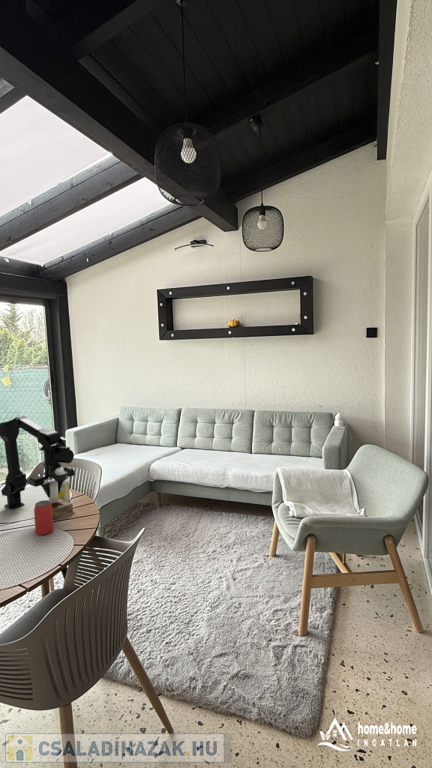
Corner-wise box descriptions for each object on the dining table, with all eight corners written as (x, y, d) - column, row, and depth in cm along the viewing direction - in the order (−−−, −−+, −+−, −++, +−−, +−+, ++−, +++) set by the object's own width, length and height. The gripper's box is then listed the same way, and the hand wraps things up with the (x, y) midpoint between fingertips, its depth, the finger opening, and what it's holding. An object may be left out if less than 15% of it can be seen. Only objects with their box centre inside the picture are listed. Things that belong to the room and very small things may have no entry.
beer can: (47, 536, 160) (45, 506, 159) (32, 535, 162) (30, 505, 160) (56, 529, 167) (55, 500, 165) (42, 527, 168) (40, 499, 167)
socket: (34, 515, 180) (33, 506, 180) (59, 506, 190) (59, 497, 189) (49, 522, 173) (48, 512, 173) (74, 512, 182) (74, 503, 182)
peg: (52, 503, 178) (50, 483, 177) (47, 501, 181) (45, 481, 180) (60, 500, 181) (59, 480, 180) (55, 498, 184) (54, 479, 183)
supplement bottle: (64, 496, 202) (63, 471, 200) (72, 499, 198) (71, 473, 196) (52, 501, 196) (50, 475, 195) (60, 504, 192) (58, 477, 191)
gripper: (40, 469, 167) (42, 506, 168) (81, 458, 181) (82, 493, 183) (26, 464, 174) (29, 500, 175) (66, 454, 188) (68, 488, 190)
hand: (53, 495), depth 181 cm, fingers closed on peg, 4 cm apart
